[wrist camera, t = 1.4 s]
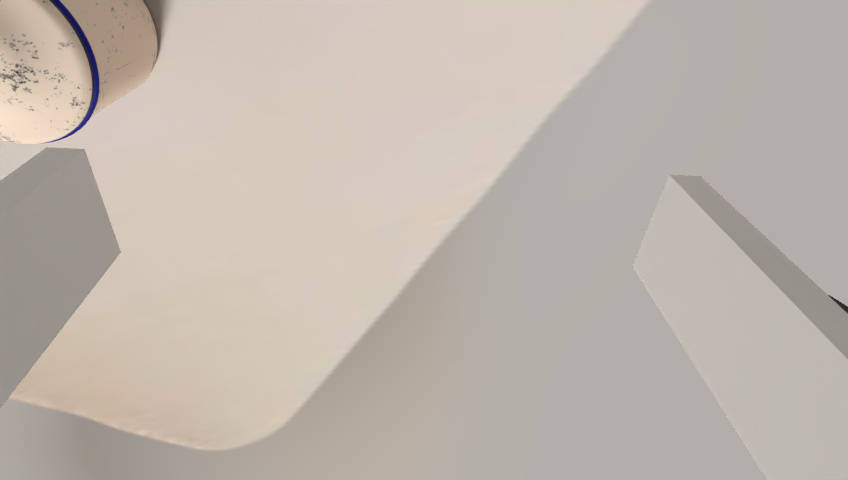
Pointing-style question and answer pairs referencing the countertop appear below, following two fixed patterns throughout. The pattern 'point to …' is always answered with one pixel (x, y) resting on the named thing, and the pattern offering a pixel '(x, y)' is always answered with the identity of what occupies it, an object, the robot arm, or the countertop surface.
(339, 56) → the countertop surface
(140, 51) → the teacup with lid
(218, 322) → the countertop surface
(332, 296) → the countertop surface
